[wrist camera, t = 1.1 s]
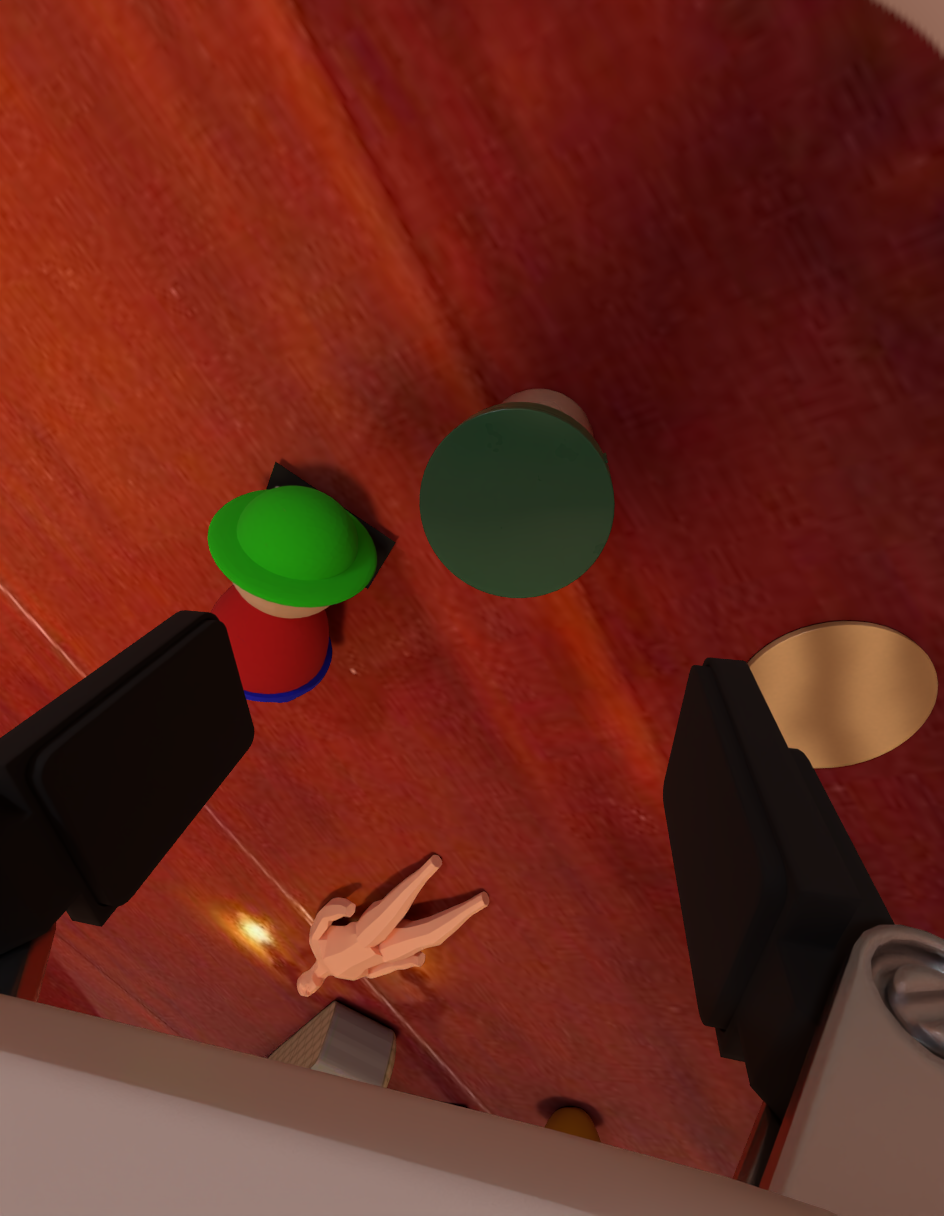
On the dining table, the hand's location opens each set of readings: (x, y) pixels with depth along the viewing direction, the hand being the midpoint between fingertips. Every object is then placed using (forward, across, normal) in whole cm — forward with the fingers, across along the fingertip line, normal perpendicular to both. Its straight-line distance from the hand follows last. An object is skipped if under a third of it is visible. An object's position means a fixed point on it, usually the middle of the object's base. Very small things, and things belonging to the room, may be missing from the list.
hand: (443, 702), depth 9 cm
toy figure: (+22, +15, +8) cm, 28 cm away
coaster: (+22, -19, +14) cm, 32 cm away
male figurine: (+22, +13, +47) cm, 54 cm away
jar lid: (+11, 0, 0) cm, 11 cm away
